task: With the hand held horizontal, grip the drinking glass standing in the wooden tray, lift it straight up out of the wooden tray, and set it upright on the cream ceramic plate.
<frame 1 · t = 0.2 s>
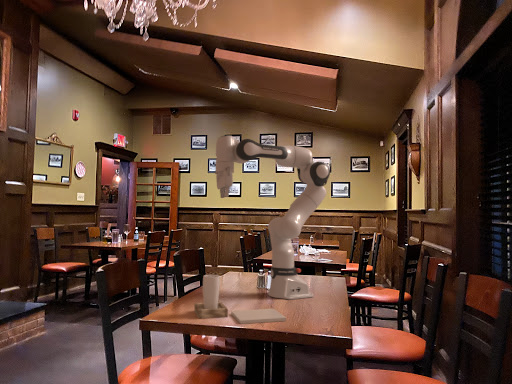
hand: (224, 197, 179), 48 cm above the table, tool pointing down, fingers open, 8 cm apart
wooden tray: (210, 313, 149), on the table
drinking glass: (210, 314, 149), resting in wooden tray
plate: (257, 317, 145), on the table
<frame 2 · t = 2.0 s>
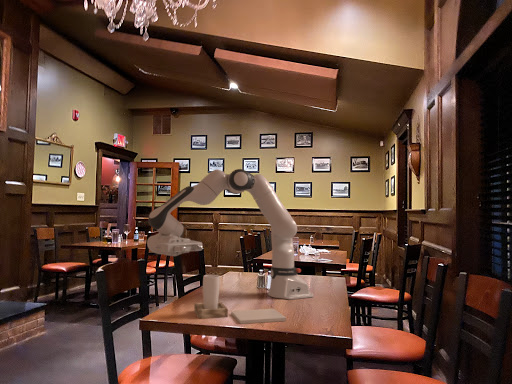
hand: (192, 248, 158), 25 cm above the table, tool horizontal, fingers open, 8 cm apart
nothing on the table moved.
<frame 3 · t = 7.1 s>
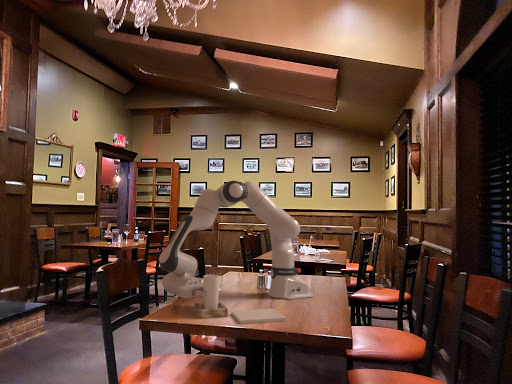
hand: (212, 292, 149), 9 cm above the table, tool horizontal, fingers closed on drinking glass, 6 cm apart
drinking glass: (210, 314, 149), resting in wooden tray, touching gripper
when the fingers open (11 cm above the table, at t = 13.8 s): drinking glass moves 2 cm, resting on plate.
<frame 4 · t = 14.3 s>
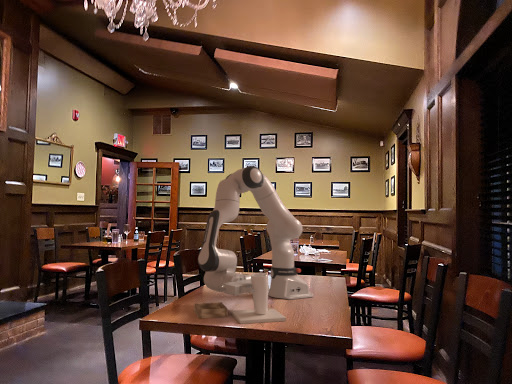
hand: (260, 289, 145), 11 cm above the table, tool horizontal, fingers open, 8 cm apart
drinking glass: (261, 313, 147), point 1 cm above the table, touching gripper, plate
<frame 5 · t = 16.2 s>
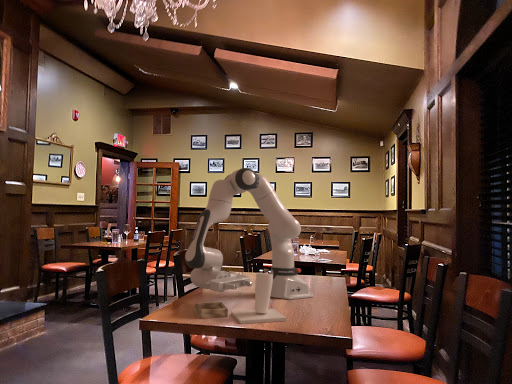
hand: (243, 285, 151), 11 cm above the table, tool horizontal, fingers open, 8 cm apart
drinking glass: (261, 312, 147), point 1 cm above the table, touching plate
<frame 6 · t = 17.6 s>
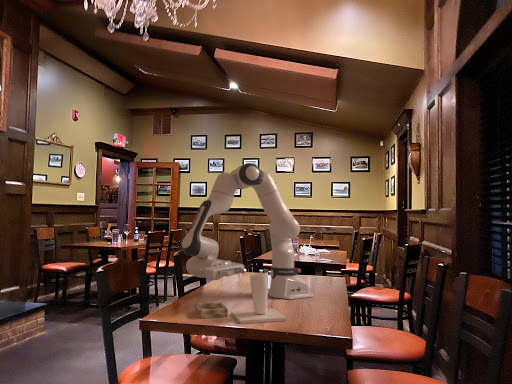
hand: (237, 272, 154), 16 cm above the table, tool horizontal, fingers open, 8 cm apart
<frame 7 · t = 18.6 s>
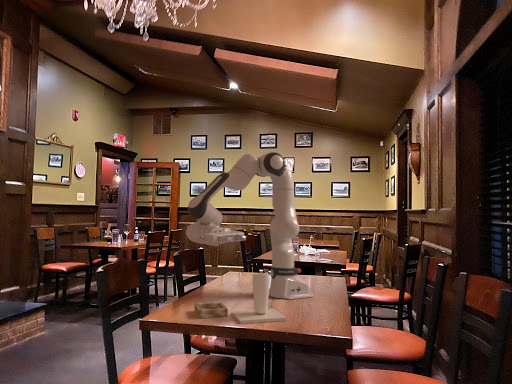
hand: (237, 239, 156), 29 cm above the table, tool horizontal, fingers open, 8 cm apart
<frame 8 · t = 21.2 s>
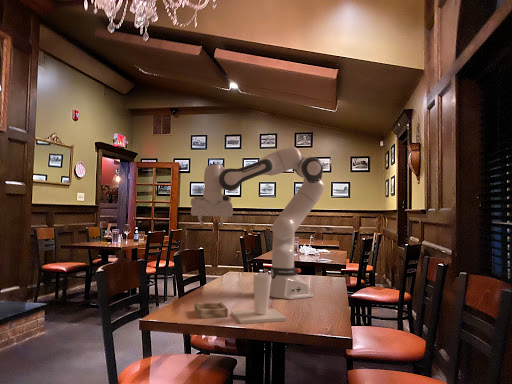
hand: (211, 225, 181), 34 cm above the table, tool pointing down, fingers open, 8 cm apart
at the end: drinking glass inside the target area on the plate (1.9 cm from its centre), point 1.0 cm above the plate's base; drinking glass tilted 1°; the gripper is holding nothing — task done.
